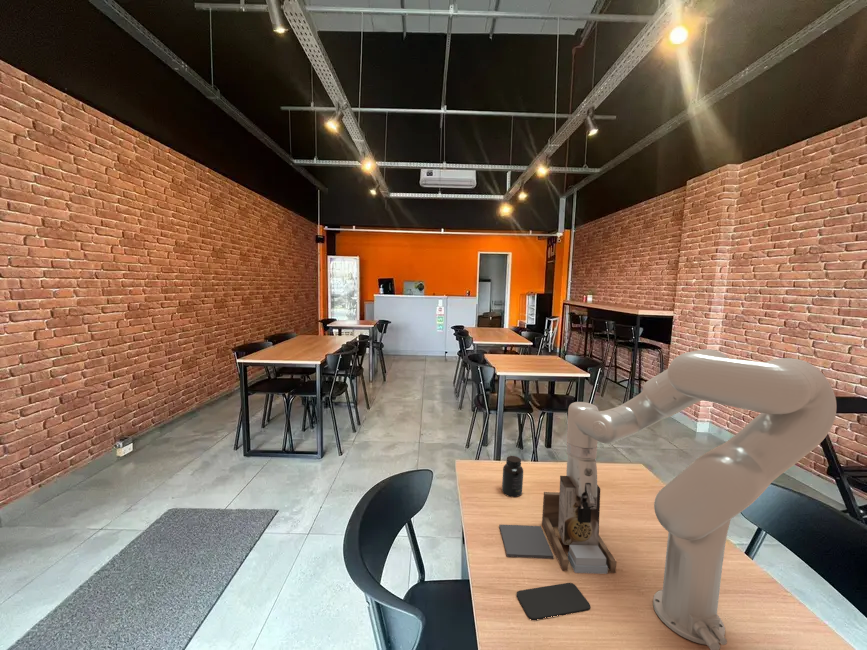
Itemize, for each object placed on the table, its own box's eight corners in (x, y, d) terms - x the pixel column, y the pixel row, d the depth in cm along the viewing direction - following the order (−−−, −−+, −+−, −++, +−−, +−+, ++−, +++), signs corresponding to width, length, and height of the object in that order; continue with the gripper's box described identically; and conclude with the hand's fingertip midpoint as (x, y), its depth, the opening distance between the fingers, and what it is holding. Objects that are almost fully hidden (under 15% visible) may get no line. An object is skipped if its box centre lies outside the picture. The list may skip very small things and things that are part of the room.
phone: (593, 608, 79) (530, 619, 76) (592, 611, 80) (530, 623, 76) (572, 581, 87) (514, 590, 83) (572, 584, 87) (514, 594, 83)
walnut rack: (615, 572, 90) (618, 534, 89) (562, 570, 90) (565, 532, 89) (585, 525, 108) (588, 493, 107) (541, 523, 108) (543, 491, 107)
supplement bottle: (497, 489, 127) (499, 455, 126) (513, 485, 130) (515, 452, 129) (509, 499, 121) (511, 464, 120) (526, 495, 124) (528, 461, 122)
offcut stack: (607, 574, 90) (608, 559, 89) (574, 573, 90) (576, 558, 89) (598, 559, 95) (599, 545, 94) (567, 558, 95) (568, 544, 94)
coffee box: (590, 532, 102) (593, 476, 101) (598, 547, 96) (601, 488, 95) (557, 529, 103) (559, 474, 102) (563, 545, 97) (565, 486, 95)
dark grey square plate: (553, 558, 94) (553, 555, 94) (507, 556, 94) (507, 554, 94) (540, 528, 106) (540, 526, 106) (499, 527, 106) (499, 524, 106)
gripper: (611, 464, 89) (607, 534, 90) (582, 437, 106) (579, 496, 107) (580, 463, 89) (576, 533, 90) (556, 436, 106) (554, 495, 107)
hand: (578, 513), depth 99 cm, fingers closed on coffee box, 6 cm apart
